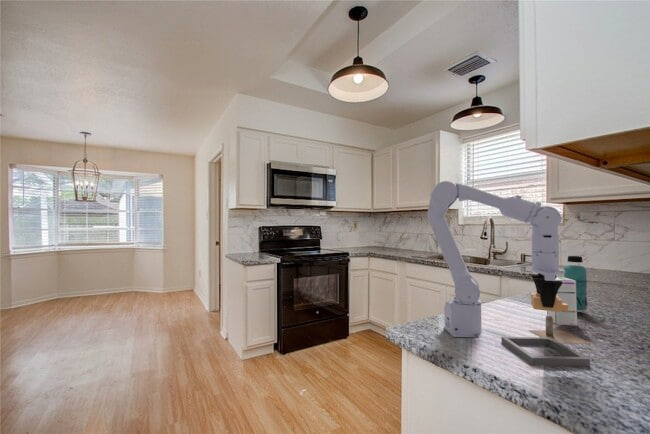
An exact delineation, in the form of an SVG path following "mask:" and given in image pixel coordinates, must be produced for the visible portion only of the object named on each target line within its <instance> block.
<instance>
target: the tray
mask: <svg viewBox="0 0 650 434" xmlns="http://www.w3.org/2000/svg"><path fill="white" fill-rule="evenodd" d="M501 344H502V345H504V346H505V347H506V348H508V349H509V350H511V351H512V352H513V353H515V355H518V357H520V358H522V359H523V360H524V361H526V362H527V363H528V364H530V365H531V366H549V367H550V366H552V367H553V366H554V367H557V366H559V367H591V359H590V358H589V357H586V355H583V354H581V353H579V352H578V351H576V350H574V349H572V348H570V347H568V346H567V345H565V344H564V343H559V342H557V341H555V340H553V339H551V338H542V337H539V336H537V337H536V336H533V337H529V336H526V337H525V336H501ZM521 345H522V346H549V347H551V348H552V349H555V350H556V351H557V352H560V353H561V354H562V355H565V356H559V355H558V356H557V355H555V356H554V355H553V356H549V355H548V356H547V355H533V354H531V353H530V352H528V351H527V350H525V349H524V348H523V347H521ZM567 371H569V370H567Z"/></svg>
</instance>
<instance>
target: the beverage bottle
mask: <svg viewBox="0 0 650 434" xmlns="http://www.w3.org/2000/svg"><path fill="white" fill-rule="evenodd" d="M567 262H568V263H569V262H570V263H583V257H582V256H580V255H568V256H567ZM563 270H565V273H563V274H564V275H563V277H564V278H568V279H571V280H575V281H576V304H577V311H587V309H588V293H587V292H588V291H587V287H588V285H587V282H588V281H587V280H588V279H587V271H588V270H587V268H586V267H584V266H583V265H577V264H567V265H565V266H564V267H563Z"/></svg>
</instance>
